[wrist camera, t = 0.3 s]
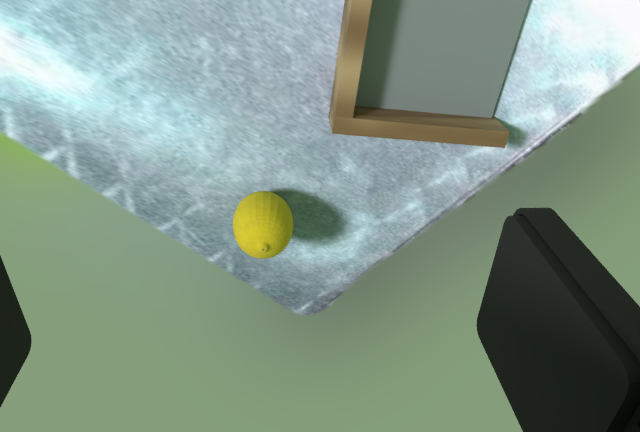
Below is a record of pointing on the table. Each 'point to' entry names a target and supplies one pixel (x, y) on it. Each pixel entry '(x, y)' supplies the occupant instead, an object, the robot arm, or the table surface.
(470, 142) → the corner walls
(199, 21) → the table surface
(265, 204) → the lemon
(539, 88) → the table surface
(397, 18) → the mat
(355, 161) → the table surface
